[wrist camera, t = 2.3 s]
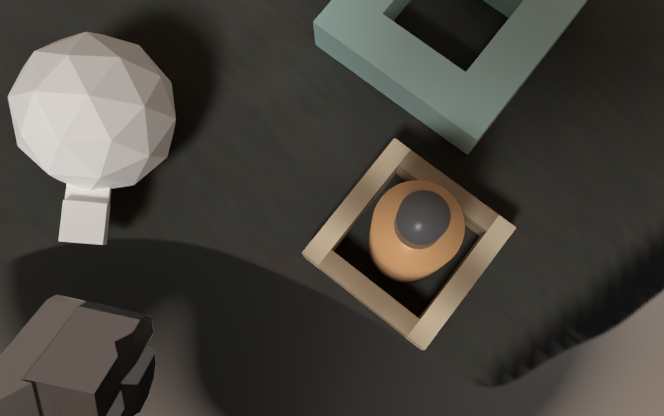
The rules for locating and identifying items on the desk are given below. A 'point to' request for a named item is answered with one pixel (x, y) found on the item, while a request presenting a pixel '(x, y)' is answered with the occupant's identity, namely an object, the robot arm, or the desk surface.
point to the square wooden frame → (392, 312)
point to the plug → (415, 231)
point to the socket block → (443, 60)
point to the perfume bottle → (92, 123)
